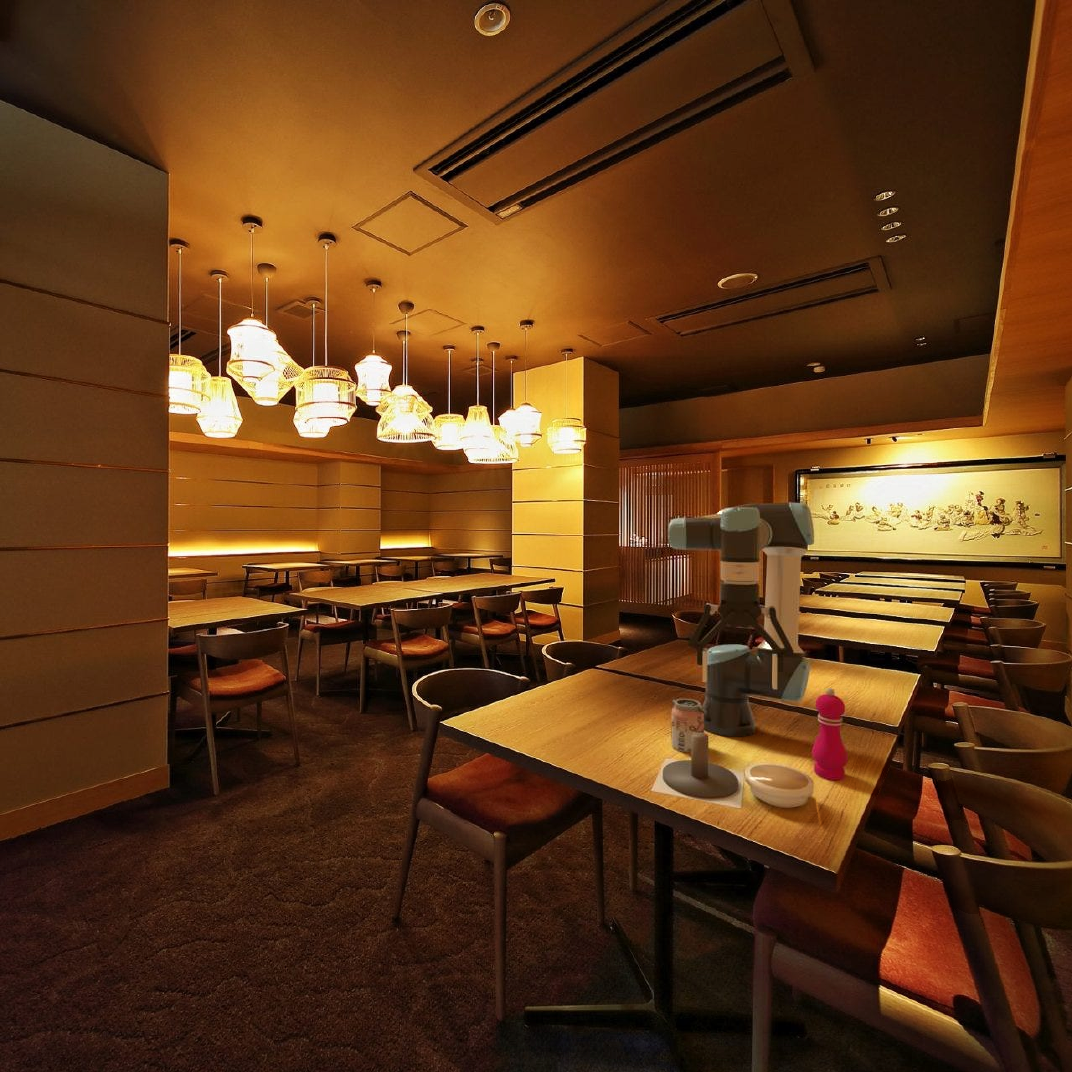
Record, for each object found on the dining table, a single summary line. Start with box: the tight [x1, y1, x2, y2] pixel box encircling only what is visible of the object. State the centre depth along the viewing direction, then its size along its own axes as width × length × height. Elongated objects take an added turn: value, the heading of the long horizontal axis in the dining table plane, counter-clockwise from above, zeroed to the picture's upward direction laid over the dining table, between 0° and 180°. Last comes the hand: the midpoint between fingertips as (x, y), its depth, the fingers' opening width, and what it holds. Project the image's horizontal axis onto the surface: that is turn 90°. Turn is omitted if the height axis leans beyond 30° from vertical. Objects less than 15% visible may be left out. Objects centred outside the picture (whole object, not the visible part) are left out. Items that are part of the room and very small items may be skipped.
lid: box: [663, 732, 738, 799], centre depth 120 cm, size 16×16×10 cm
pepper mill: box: [811, 687, 849, 781], centre depth 125 cm, size 7×7×20 cm
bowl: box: [744, 762, 815, 809], centre depth 113 cm, size 13×13×5 cm
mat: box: [650, 758, 745, 810], centre depth 120 cm, size 18×18×1 cm
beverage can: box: [670, 698, 707, 754], centre depth 139 cm, size 9×8×12 cm
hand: (738, 684), depth 112 cm, fingers open, 13 cm apart
